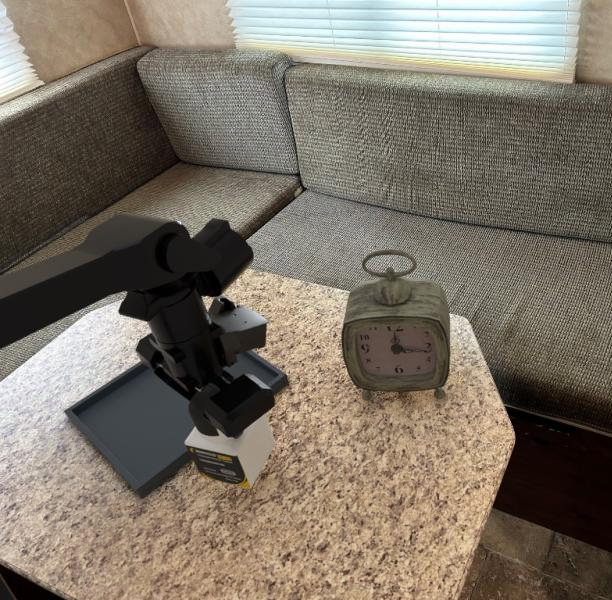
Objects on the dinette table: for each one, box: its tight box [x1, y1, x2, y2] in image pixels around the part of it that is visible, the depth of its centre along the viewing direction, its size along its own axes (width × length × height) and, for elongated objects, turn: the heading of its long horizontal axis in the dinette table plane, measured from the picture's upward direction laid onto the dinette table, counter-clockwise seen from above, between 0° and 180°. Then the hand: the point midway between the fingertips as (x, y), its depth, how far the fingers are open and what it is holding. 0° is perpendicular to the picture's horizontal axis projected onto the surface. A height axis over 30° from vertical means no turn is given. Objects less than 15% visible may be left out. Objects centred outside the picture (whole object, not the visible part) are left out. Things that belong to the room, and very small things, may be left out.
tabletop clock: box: [340, 249, 451, 401], centre depth 83 cm, size 14×9×25 cm, turn 86°
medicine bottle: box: [185, 385, 277, 489], centre depth 73 cm, size 7×7×12 cm
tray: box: [63, 350, 290, 499], centre depth 92 cm, size 26×22×2 cm
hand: (222, 422), depth 72 cm, fingers closed on medicine bottle, 6 cm apart
